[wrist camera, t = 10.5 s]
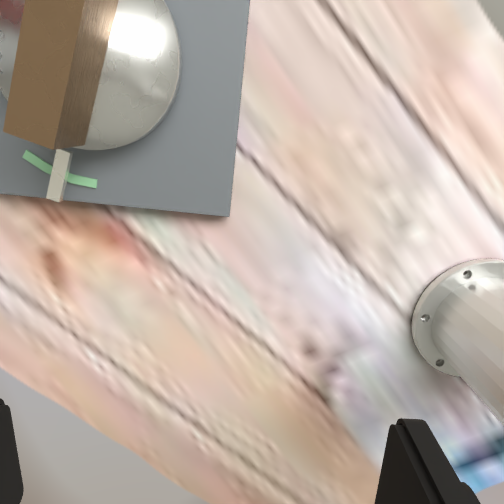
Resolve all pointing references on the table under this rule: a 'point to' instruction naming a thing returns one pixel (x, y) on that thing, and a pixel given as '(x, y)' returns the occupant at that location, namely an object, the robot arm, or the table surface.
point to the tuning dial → (86, 74)
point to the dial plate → (160, 130)
